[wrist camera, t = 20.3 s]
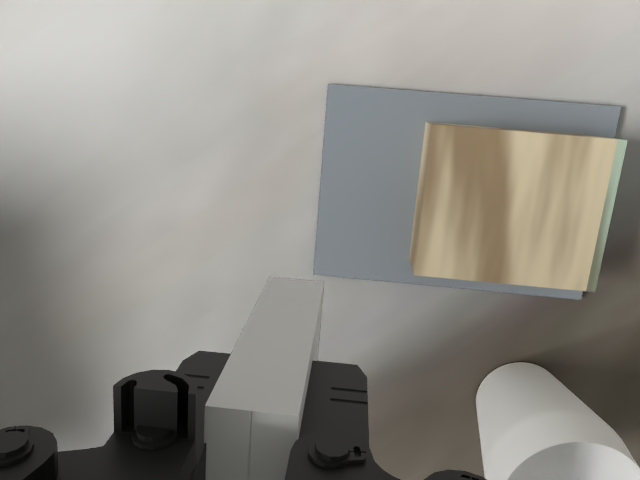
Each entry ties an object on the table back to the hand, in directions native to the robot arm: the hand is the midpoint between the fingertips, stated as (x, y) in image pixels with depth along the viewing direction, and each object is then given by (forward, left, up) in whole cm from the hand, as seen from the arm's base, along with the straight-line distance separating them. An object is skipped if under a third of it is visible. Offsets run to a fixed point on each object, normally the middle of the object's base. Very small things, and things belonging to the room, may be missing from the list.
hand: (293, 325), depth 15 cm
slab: (+6, 0, -24) cm, 25 cm away
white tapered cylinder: (+16, -16, -27) cm, 35 cm away
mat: (+9, 0, -26) cm, 28 cm away
